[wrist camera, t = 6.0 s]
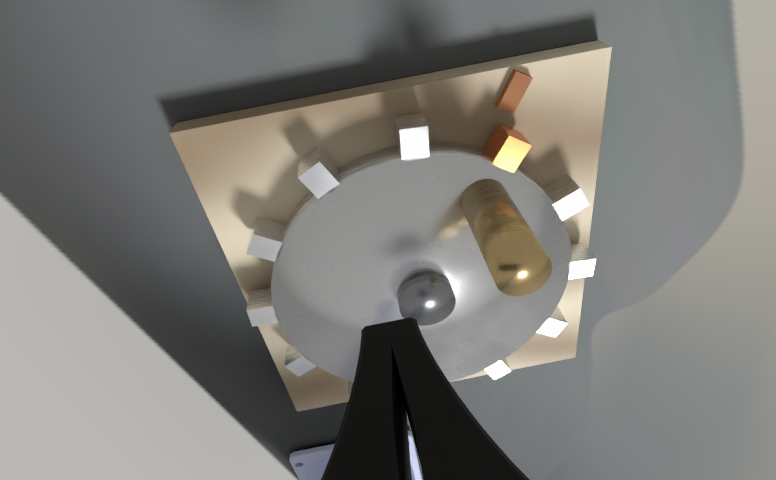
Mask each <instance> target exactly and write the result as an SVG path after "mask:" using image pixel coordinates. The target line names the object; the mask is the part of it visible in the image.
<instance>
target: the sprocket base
mask: <svg viewBox="0 0 776 480" xmlns="http://www.w3.org/2000/svg"><path fill="white" fill-rule="evenodd" d="M611 49H612V47H611V46H609V45H607V44H605V43H603V42H601V41H599V40H596V41H591V42H586V43H581V44H576V45H571V46H566V47H561V48H555V49H550V50H545V51H540V52H535V53H530V54H525V55H520V56H514V57H509V58H504V59H499V60H494V61H489V62H484V63H479V64H474V65H468V66H463V67H458V68H453V69H448V70H443V71H438V72H433V73H428V74H422V75H417V76H412V77H407V78H402V79H397V80H392V81H387V82H381V83H376V84H371V85H366V86H361V87H356V88H351V89H346V90H341V91H335V92H330V93H325V94H320V95H315V96H310V97H305V98H300V99H295V100H289V101H284V102H279V103H274V104H269V105H264V106H259V107H254V108H248V109H243V110H238V111H233V112H228V113H223V114H218V115H213V116H208V117H202V118H197V119H192V120H187V121H182V122H177V123H176V124H175V125H174V127H173V128H172V130H171V132H170V133H169V134H170V136H171V138H172V140H173V142H174V145H175V147H176V149H177V151H178V153H179V155H180V158H181V160H182V162H183V164H184V166H185V169H186V171H187V173H188V175H189V177H190V179H191V182H192V184H193V186H194V188H195V190H196V192H197V195H198V197H199V199H200V201H201V203H202V206H203V208H204V210H205V212H206V214H207V216H208V219H209V221H210V223H211V225H212V227H213V230H214V232H215V234H216V236H217V238H218V240H219V243H220V245H221V247H222V249H223V251H224V254H225V256H226V258H227V260H228V262H229V264H230V267H231V269H232V271H233V273H234V275H235V277H236V280H237V282H238V284H239V286H240V288H241V291H242V293H243V295H244V297H245V299H246V301H247V303H248V298H249V292H250V291H255V290H262V289H269V288H271V280H272V272H273V264H274V262H273V261H270V260H266V259H262V258H259V257H255V256H251V255H247V254H246V253H247V249H248V244H249V239H250V235H251V232H252V229H253V227H254V224H255V221H256V218H257V217H258V218H262V219H265V220H268V221H272V222H275V223H278V224H282V225H285V224H286V222H287V219H288V218H289V216H290V215H291V213H292V212H293V211H294V209H295V208H296V206H297V205H298V203H299V202H300V201H301V200H302V199H303V198H304V197H305V196H306V195H307V194H308V193H309V191H310V190H309V189H308V188H307V187H306V186H305V185H304V184H303V183H302V182H301V181H300V180H299V179H298V166H299V162H300V161H301V160H303V159H304V158H305V157H307V156H308V155H310V154H311V153H312V152H314V151H315V150H316V149H318V148H319V147H320V148H321V149H322V150H323V152H324V153H325V154H326V155H327V156H328V157H329V158H330V159H331V160H332V162H333V163H334V164H335V165H336V166H337V167H338V168H341V167H342V166H344V165H346V164H347V163H350V162H352V161H354V160H356V159H358V158H360V157H362V156H365V155H367V154H370V153H373V152H376V151H379V150H382V149H385V148H388V147H393V146H397V136H396V125H395V117H397V116H405V115H412V114H420V113H422V114H423V116H424V118H425V120H426V122H427V125H428V133H429V142H432V141H434V142H454V143H460V144H466V145H471V146H476V147H479V148H482V149H484V147H485V145H486V144H487V142H488V140H489V139H490V137H491V135H492V134H493V132H494V130H495V129H496V127H497V125H498V124H499V123H501V124H503V125H505V126H507V127H510V128H512V129H514V130H517V131H519V132H521V133H522V134H523V136H524V137H525V138H526V139H527V140H528V141H529V143H530V144H531V145H532V146H531V148H530V149H529V151H528V152H527V154H526V155H525V157H524V158H523V160H522V162H521V163H520V165H519V167H521V168H522V169H524V170H525V171H527V172H528V173H529V174H530V175H531V176H532V177H533V178H534V179H535V180H536V181H537V182H538V183H539V185H540V186H541V187H542V188H545V187H547V186H548V185H550V184H551V183H553V182H555V181H556V180H558V179H559V178H561V177H563V176H564V175H566V174H568V175H569V176H570V177H571V178H572V179H573V180H574V181H575V183H576V184H577V185H578V186H579V187H580V188H581V190H582V192H583V194H584V196H585V198H586V200H587V201H588V203H589V206H587V207H585V208H584V209H582V210H580V211H579V212H577V213H575V214H574V215H572V216H570V217H569V218H567V219H565V220H564V222H565V224H566V226H567V230H568V234H569V238H570V243H571V244H577V243H585V244H586V246H587V247H588V245H589V236H590V228H591V219H592V211H593V202H594V194H595V185H596V177H597V168H598V160H599V151H600V143H601V134H602V126H603V117H604V109H605V100H606V92H607V83H608V75H609V66H610V58H611ZM584 279H585V277H583V278H576V279H570V280H568V282H567V286H566V288H565V291H564V293H563V295H562V298H561V300H560V302H559V304H558V305H557V306H558V308H559V309H560V311H561V313H562V315H563V316H564V318H565V320H566V321H567V323H568V324H567V325H566V326H565V327H564V328H563V330H562V331H561V332H560V333H559V334H558V335H557V336H556V337H552V336H548V335H545V334H541V333H536V334H535V335H534V336H533V337H532V338H531V339H530V340H529V341H528V342H527V343H525V344H524V345H523V346H522V347H521V348H519V349H518V350H517V351H515V352H514V353H512V354H511V355H510V356H508V357H507V358H506V360H507V362H508V365H509V367H510V370H513V369H518V368H523V367H528V366H533V365H538V364H544V363H549V362H554V361H559V360H564V359H569V358H574V357H575V356H576V347H577V339H578V330H579V322H580V313H581V304H582V296H583V287H584ZM258 328H259V330H260V332H261V334H262V336H263V338H264V341H265V343H266V345H267V347H268V349H269V352H270V354H271V356H272V358H273V360H274V362H275V365H276V367H277V369H278V371H279V373H280V376H281V378H282V380H283V382H284V384H285V386H286V389H287V391H288V393H289V395H290V397H291V400H292V402H293V404H294V406H295V408H296V410H297V412H299V411H304V410H309V409H314V408H319V407H324V406H329V405H335V404H340V403H345V402H348V401H349V397H348V382H347V380H345V379H343V378H340V377H337V376H335V375H333V374H331V373H328V372H326V371H324V370H322V369H321V368H319V367H318V366H316V367H315V368H313V369H311V370H310V371H308V372H306V373H304V374H303V375H301V376H299V377H298V376H297V375H296V374H294V373H293V372H291V371H290V370H288V369H287V368H286V367H285V354H286V347H287V346H289V345H291V343H290V342H289V340H288V339H287V337H286V336H285V334H284V333H283V331H282V329H281V328H280V325H279V323H274V324H267V325H260V326H258ZM487 374H488V373H487V372H486V371H485V370H482V371H480V372H478V373H475V374H473V375H470V376H467V377H465V378H462V379H467V378H472V377H477V376H482V375H487ZM462 379H458V380H462ZM455 381H457V380H455ZM451 382H452V381H451Z"/></svg>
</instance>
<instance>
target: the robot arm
mask: <svg viewBox="0 0 776 480" xmlns="http://www.w3.org/2000/svg"><path fill="white" fill-rule="evenodd" d="M406 411H407V414H406ZM407 415H408V419H409V422H410V426H411V430H412V433H413V437H414V441H415V445H416V448H417V452H418V456H419V459H420V463H421V467H422V473H423V479H424V480H529V479H528V478H527V477H526V476H525V475H524V474H523V473H522V472H521V471H520V469H519V468H518V467H517V466H516V465H515V464H514V463H513V462H512V461H511V460H510V459H509V458H508V457H507V456H506V454H505V453H504V452H503V451H502V450H501V449H500V448H499V447H498V445H497V444H496V443H495V442H494V441H493V440H492V438H491V437H490V436H489V435H488V434H487V432H486V431H485V430H484V429H483V428H482V426H481V425H480V424H479V423H478V421H477V420H476V419H475V418H474V416H473V415H472V414H471V412H470V411H469V410H468V408H467V407H466V406H465V404H464V403H463V402H462V400H461V399H460V397H459V396H458V395H457V393H456V392H455V390H454V389H453V387H452V386H451V384H450V383H449V381H448V380H447V378H446V377H445V375H444V373H443V372H442V370H441V369H440V367H439V366H438V364H437V362H436V361H435V359H434V357H433V355H432V353H431V352H430V350H429V348H428V346H427V344H426V342H425V340H424V338H423V336H422V334H421V331H420V329H419V326H418V323H417V320H416V319H414V318H412V317H410V318H405V319H400V320H395V321H390V322H384V323H379V324H374V325H369V326H365V327H364V328H363V329H362V330H361V344H360V352H359V358H358V363H357V368H356V373H355V377H354V381H353V385H352V389H351V393H350V397H349V401H348V405H347V408H346V411H345V414H344V418H343V421H342V424H341V427H340V430H339V434H338V436H337V439H336V442H335V444H331V445H325V446H320V447H315V448H310V449H305V450H300V451H295V452H293V453H291V454H290V459H289V461H290V463H291V465H292V467H293V469H294V471H295V473H296V475H297V476H298V478H299V480H422V477H421V472H420V468H419V464H418V459H417V455H416V450H415V446H414V441H413V437H412V433H411V432H410V431H408V426H407Z"/></svg>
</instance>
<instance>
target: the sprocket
mask: <svg viewBox="0 0 776 480" xmlns="http://www.w3.org/2000/svg"><path fill="white" fill-rule="evenodd" d="M395 125H396V136H397V146H393V147H388V148H385V149H382V150H379V151H376V152H373V153H370V154H367V155H365V156H362V157H360V158H358V159H356V160H354V161H352V162H350V163H347V164H346V165H344V166H342V167H341V168H338V167H337V166H336V165H335V164H334V163H333V162H332V160H331V159H330V158H329V157H328V156H327V155H326V154H325V153H324V152H323V150H322V149H321V148H320V147H319V148H318V149H316V150H315V151H314V152H312V153H311V154H310V155H308V156H307V157H305V158H304V159H303V160H301V161H300V162H299V166H298V179H299V180H300V181H301V182H302V183H303V184H304V185H305V186H306V187H307V188H308V189H309V190H310V191H309V193H308V194H307V195H306V196H305V197H304V198H303V199H302V200H301V201H300V202H299V203H298V205H297V206H296V208H295V209H294V211H293V212H292V213H291V215H290V216H289V218H288V219H287V222H286V224H285V225H282V224H278V223H275V222H272V221H268V220H265V219H262V218H258V217H257V218H256V221H255V224H254V227H253V229H252V232H251V235H250V239H249V244H248V249H247V253H246V254H247V255H251V256H255V257H259V258H262V259H266V260H270V261H273V262H274V264H273V272H272V280H271V288H269V289H262V290H255V291H250V292H249V298H248V303H247V309H246V311H247V314H248V316H249V319H250V322H251V324H252V327H254V326H260V325H267V324H274V323H279V325H280V328H281V329H282V331H283V333H284V334H285V336H286V337H287V339H288V340H289V342H290V343H291V345H289V346H287V347H286V354H285V367H286V368H287V369H288V370H290V371H291V372H293V373H294V374H296V375H297V376H298V377H299V376H301V375H303V374H304V373H306V372H308V371H310V370H311V369H313V368H315V367H316V366H318V367H319V368H321V369H322V370H324V371H326V372H328V373H331V374H333V375H335V376H337V377H340V378H343V379H345V380H347V382H348V397H350V393H351V389H352V385H353V381H354V377H355V373H356V368H357V363H358V358H359V352H360V344H361V330H362V329H363V328H364V327H365V326H369V325H374V324H379V323H384V322H390V321H395V320H400V319H405V318H410V317H412V318H414V319H416V320H417V323H418V326H419V329H420V331H421V334H422V336H423V338H424V340H425V342H426V344H427V346H428V348H429V350H430V352H431V353H432V355H433V357H434V359H435V361H436V362H437V364H438V366H439V367H440V369H441V370H442V372H443V373H444V375H445V377H446V378H447V380H448V381H449V382H451V381H455V380H458V379H462V378H465V377H467V376H470V375H473V374H475V373H478V372H480V371H482V370H485V371H486V372H487V373H488V374H489V375H490V376H491V377H492V378H493V379H494V380H495V379H497V378H499V377H501V376H503V375H505V374H507V373H509V372H511V370H510V367H509V365H508V362H507V360H506V358H507V357H508V356H510V355H511V354H512V353H514V352H515V351H517V350H518V349H519V348H521V347H522V346H523V345H524V344H525V343H527V342H528V341H529V340H530V339H531V338H532V337H533V336H534V335H535V334H536V333H541V334H545V335H548V336H552V337H556V336H557V335H558V334H559V333H560V332H561V331H562V330H563V328H564V327H565V326H566V325H567V324H568V323H567V321H566V320H565V318H564V316H563V315H562V313H561V311H560V309H559V308H558V306H557V305H558V304H559V302H560V300H561V298H562V295H563V293H564V291H565V288H566V286H567V282H568V280H570V279H576V278H583V277H590V276H593V273H594V268H595V263H596V257H595V256H594V255H593V253H592V252H591V251H590V249H589V248H588V247H587V246H586V244H585V243H577V244H571V243H570V238H569V234H568V230H567V226H566V224H565V222H564V220H565V219H567V218H569V217H570V216H572V215H574V214H575V213H577V212H579V211H580V210H582V209H584V208H585V207H587V206H589V203H588V201H587V200H586V198H585V196H584V194H583V192H582V190H581V188H580V187H579V186H578V185H577V184H576V183H575V181H574V180H573V179H572V178H571V177H570V176H569V175H568V174H566V175H564V176H563V177H561V178H559V179H558V180H556V181H555V182H553V183H551V184H550V185H548V186H547V187H545V188H542V187H541V186H540V185H539V183H538V182H537V181H536V180H535V179H534V178H533V177H532V176H531V175H530V174H529V173H528V172H527V171H525V170H524V169H522V168H521V167H519V165H520V163H521V162H522V160H523V158H524V157H525V155H526V154H527V152H528V151H529V149H530V148H531V146H532V145H531V144H530V143H529V141H528V140H527V139H526V138H525V137H524V136H523V134H522V133H521V132H519V131H517V130H514V129H512V128H510V127H507V126H505V125H503V124H501V123H499V124H498V125H497V127H496V129H495V130H494V132H493V134H492V135H491V137H490V139H489V140H488V142H487V144H486V145H485V147H484V149H482V148H479V147H476V146H471V145H466V144H460V143H454V142H434V141H432V142H429V133H428V125H427V122H426V120H425V118H424V116H423V114H422V113H420V114H412V115H405V116H397V117H395Z"/></svg>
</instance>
